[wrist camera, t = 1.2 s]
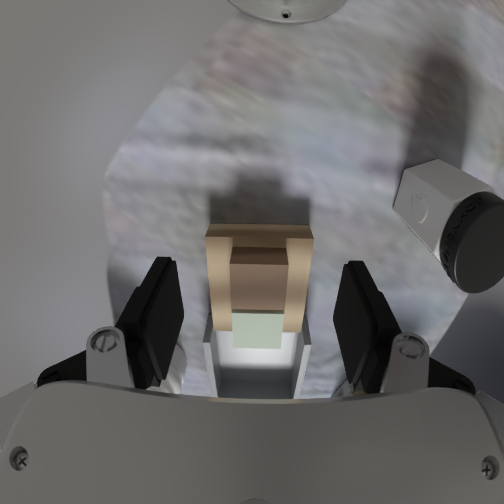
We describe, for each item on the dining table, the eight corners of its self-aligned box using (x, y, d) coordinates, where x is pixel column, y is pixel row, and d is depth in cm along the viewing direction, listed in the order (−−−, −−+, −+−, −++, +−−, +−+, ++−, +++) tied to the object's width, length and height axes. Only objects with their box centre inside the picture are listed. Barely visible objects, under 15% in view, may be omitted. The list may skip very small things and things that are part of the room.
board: (210, 223, 30) (205, 236, 27) (309, 225, 30) (313, 238, 27) (216, 313, 36) (213, 330, 33) (298, 315, 35) (300, 332, 33)
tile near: (232, 246, 28) (229, 263, 25) (286, 247, 27) (288, 264, 25) (233, 289, 30) (231, 309, 27) (283, 290, 30) (284, 310, 27)
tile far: (233, 293, 30) (231, 312, 28) (282, 294, 30) (284, 314, 28) (235, 328, 33) (233, 347, 30) (279, 329, 33) (280, 348, 30)
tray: (208, 313, 36) (202, 342, 31) (306, 315, 35) (311, 344, 31) (217, 379, 43) (213, 405, 38) (294, 380, 42) (296, 407, 38)
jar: (406, 147, 25) (480, 184, 14) (463, 168, 25) (535, 211, 15) (384, 227, 29) (434, 296, 19) (439, 238, 30) (494, 300, 19)
